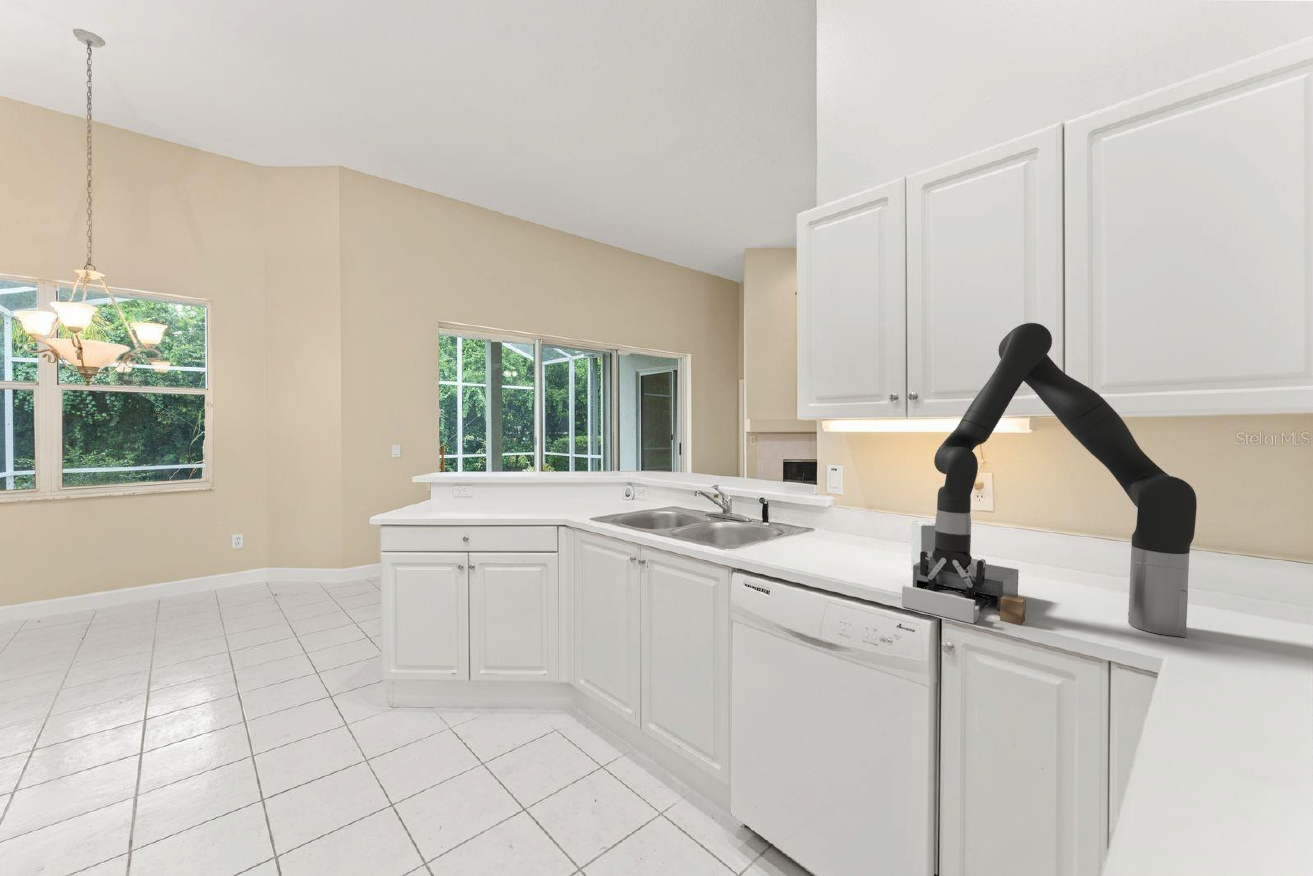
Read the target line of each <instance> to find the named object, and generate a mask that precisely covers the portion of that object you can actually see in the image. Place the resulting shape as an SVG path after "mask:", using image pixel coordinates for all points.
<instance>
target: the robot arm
mask: <svg viewBox="0 0 1313 876" xmlns="http://www.w3.org/2000/svg"><path fill="white" fill-rule="evenodd" d="M1052 345H1053V337H1052V334H1051V332H1050V330H1049V329H1048V328H1047V327H1046V326H1044V325H1043V324H1041V323H1037V322H1026V323H1022V324H1021V325H1018V326H1016V327H1014V328H1013V329H1012V330H1011V331H1009V332H1008V333H1007V334H1006V336H1004V338H1003V339H1002V340H1001V341H1000V343H999V345H998V350H997V351H998V356H999V358H1000V360H999V363H997V366H996V368H995V370H994V371H993V373H992V374H991V376H990V378H989V379H987V382H986V383H985V384H984V386H983V387H982V389H981V390H980V391H979V393H977V395H976V397H974V399H973V401H971V404H970V405H969V407H968V408H967V410H966V411H965V412H964V415H963V417H962V418H961V420H960V421H959V423H958V425H957V426H956V428H955V429H954V430H953V431H952V432H951V433H950V434H949V435H948V437H947V438H946V439H945V440H944V441H943V442H942V443H941V445H940V446H939V447H938V449H937V450H936V452H935V456H934V457H933V458H934V459H933V460H934V461H933V462H934V466H935V468H936V469H937V471H938V472H940V473H941V474H943V475H945V481H944V485H943V486H940V488H938V491H937V502H936V503H937V504H936V515H935V522H934V523H935V550H934V552H929V551H927V550H924V551H922V552H920V574H921V575H922V576H925V577H927V578H928V586H927V588H928V590H929V591H934V592H937V587H938V584H937V579H936V576H937V575H938V574H939V573H940V572H941V571H942V570H943V571H944V572H952V573H955V574H958V573H959V574H960V576H961V577H962V579H964V581H965V583H966V584H967V587H966V590H965V592H966V598H967V599H971V600H974V598H975V593H976V592H975V587H977V586H979V587H980V586H982V585H983V584H984V581H985V566H986V564H987V562H986V560H985V559H983V558H982V559H976V558H973V557H972V555H971V546H972V544H971V543H972V541H971V539H972V538H971V537H972V518H971V507H972V506H971V505H972V504H971V502H972V500H971V499H972V493H973V490H974V488H975V484H976V479H977V475H978V471H979V462H978V458H977V456H976V454H975V452H974V449H975V448H976V447H977V446H980V445H982V444H984V443H986V442H987V441H988V440H989V439H990V437H991V435H992V433H993V432H994V430H995V429H996V427H997V425H998V424H999V422H1000V421H1001V418H1002V417H1003V415H1004V413H1005V411H1006V410H1007V408H1008V406H1009V405H1010V403H1011V401H1012V399H1013V397H1015V394H1016V393H1017V391H1018V389H1019V388H1020V387H1021V385H1022V383H1023V382H1024V383H1025V384H1027V386H1029V388H1031V389H1032V390H1033V392H1034V393H1035V394H1036V395H1037V396H1038V397H1039V398H1040V400H1041V401H1042V402H1043V404H1044V405H1046V406H1047V408H1048V409H1049V410H1050V411H1051V412H1052V413H1053V415H1054V416H1055V417H1056V418H1057V419H1058V420H1059V421H1060V423H1061V424H1062V425H1063V426H1064V427H1065V429H1067V431H1068V432H1069V434H1071V435H1072V436H1073V437H1074V438H1075V440H1077V441H1078V442H1079V443H1080V445H1082V446H1083V447H1084V448H1085V449H1086V450H1087V451H1088V452H1089V453H1090V454H1091V455H1092V456H1093V457H1094V458H1095V459H1097V460H1098V461H1099V462H1100V463H1101V464H1102V465H1103V466H1104V467H1106V469H1107V470H1108V471H1109V472H1110V473H1111V474H1112V475H1113V477H1114V478H1115V480H1116V481H1117V482H1118V483H1119V485H1120V486H1121V488H1122V490H1124V492H1125V494H1126V495H1127V496H1128V498H1129V499H1130V501H1131V502H1132V503H1133V505H1134V506H1135V507H1136V508H1137V513H1136V524H1135V530H1134V531H1133V533H1132V534H1131V544H1130V545H1131V547H1130V548H1131V549H1130V570H1129V590H1128V591H1129V593H1128V596H1129V597H1128V612H1127V622H1128V624H1129V625H1130V626H1132V627H1134V628H1137V629H1140V630H1142V631H1145V632H1149V633H1153V634H1159V635H1162V636H1163V635H1164V636H1172V637H1173V636H1175V637H1182V638H1187V625H1188V624H1187V619H1188V599H1189V597H1188V595H1189V569H1190V567H1189V565H1190V551H1191V544H1192V543H1193V540H1194V538H1195V531H1196V521H1197V520H1196V519H1197V504H1198V503H1197V501H1198V499H1197V495H1196V494H1197V493H1196V492H1195V489H1194V488H1193V487H1192V485H1190V483H1188V482H1187V481H1185V480H1184V479H1181V478H1180V477H1176V476H1173V475H1169V474H1168V473H1167V472H1166V471H1165V470H1163V469H1162V468H1161V467H1159V466H1158V465H1157V464H1156V463H1155V462H1154V461H1153V460H1152V459H1151V457H1149V456H1148V455H1147V454H1146V453H1145V452H1144V450H1142V449H1141V447H1140V446H1139V444H1138V443H1137V441H1136V440H1135V438H1134V436H1133V434H1132V433H1131V431H1130V429H1129V427H1128V426H1127V424H1126V423H1125V421H1124V420H1123V419H1122V418H1121V416H1120V415H1119V413H1117V411H1116V410H1115V408H1113V407H1112V406H1111V405H1110V403H1108V402H1107V401H1106V400H1105V398H1103V397H1102V396H1101V395H1100V394H1099V393H1098V392H1096V391H1095V390H1093V389H1091V388H1090V387H1089V386H1087V385H1085V384H1083V383H1082V382H1080V381H1079V380H1077V379H1074V378H1073V377H1071V376H1070V375H1068V374H1066V373H1065V372H1064V371H1063V370H1061V368H1059V366H1057V364H1056V363H1055V362H1054V361H1053V360H1052V358H1051V357H1050V356H1049V355H1048V353H1049V352H1050V351H1051V347H1052ZM932 556H933V558H934V560H935V561H936V563H937V565H936V566H935V567H934V568H933V570H932V571H931V572H930V571H929V560H930V559H931V557H932ZM971 563H972V564H973V565H974V568H975V569H977V572H976V580H974V579H973V578H972V576H971V573H970V571H969V569H968V568H967V567H968V566H969V565H970V564H971Z"/></svg>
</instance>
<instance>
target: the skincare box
mask: <svg viewBox="0 0 1313 876" xmlns="http://www.w3.org/2000/svg"><path fill="white" fill-rule="evenodd" d="M935 523H936V522H933V521H930V520H929V521H928V520H920V521H917V520H916V521H915V520H913V521H911V523H910V530H911V531H910V533H911V535H910V536H911V537H910V543H911V544H910V545H911V551H910V552H911V553H910V554H911V557H910V558H911V560H910V561H911V568H910V569H911V570H912V571H913V565H915V564H917V563H919V562H920V552H922V551H924V550H927V551H929V552H934V550H935Z"/></svg>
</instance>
